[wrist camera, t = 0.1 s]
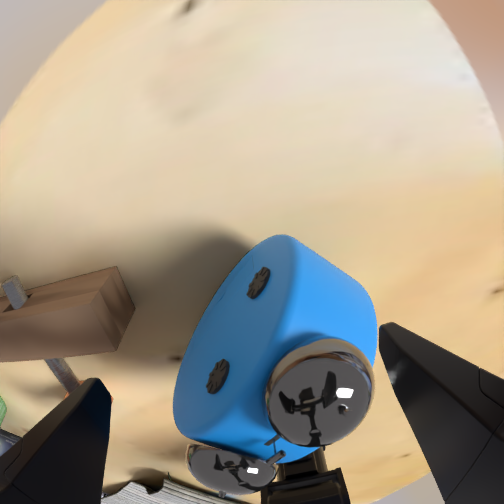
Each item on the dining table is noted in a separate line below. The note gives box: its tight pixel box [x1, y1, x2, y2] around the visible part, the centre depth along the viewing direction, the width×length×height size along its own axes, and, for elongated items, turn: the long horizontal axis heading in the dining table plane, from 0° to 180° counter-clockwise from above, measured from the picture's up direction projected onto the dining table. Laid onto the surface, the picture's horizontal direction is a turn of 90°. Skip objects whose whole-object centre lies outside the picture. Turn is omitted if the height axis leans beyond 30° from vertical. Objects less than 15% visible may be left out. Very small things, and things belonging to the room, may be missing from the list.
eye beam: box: [0, 266, 135, 362], centre depth 22 cm, size 4×20×6 cm, turn 103°
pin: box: [2, 276, 113, 401], centre depth 22 cm, size 16×4×10 cm, turn 13°
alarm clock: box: [173, 235, 377, 498], centre depth 18 cm, size 13×6×15 cm, turn 145°
